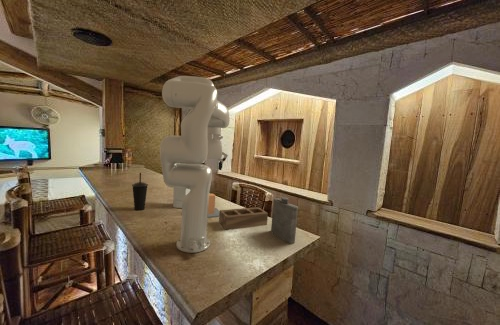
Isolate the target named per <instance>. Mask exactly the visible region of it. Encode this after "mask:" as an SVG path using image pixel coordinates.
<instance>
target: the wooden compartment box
mask: <svg viewBox="0 0 500 325" xmlns="http://www.w3.org/2000/svg"><path fill="white" fill-rule="evenodd" d="M219 211H220V213H219V217H218V222H219V224H220V225H221V226H222V227H223V228H224V230H226V231H229V230H230V231H231V230H237V229H245V228H252V227H253V228H254V227H260V226H267V225H268V220H269V219H268V218H269V217H268V216H269V213H268V212H267V211H265V210H264V209H263V208H261V207H259V206H256V207H253V206H252V207H244V208H242V207H241V208H234V209H233V208H231V209H219Z"/></svg>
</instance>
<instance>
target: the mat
mask: <svg viewBox="0 0 500 325" xmlns="http://www.w3.org/2000/svg"><path fill="white" fill-rule="evenodd" d="M219 213H220V209H218V208H217V207H215V209H214V213H213V214H208V217H207V219H209V218H210V219H211V218H219Z"/></svg>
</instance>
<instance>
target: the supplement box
mask: <svg viewBox="0 0 500 325" xmlns="http://www.w3.org/2000/svg"><path fill="white" fill-rule="evenodd" d="M189 192H190V189H186V188H173V201H172V202H173V204H172V205H173V207H172V208H174V209H175V208H176V209H177V208H178V209H182V203H183V199H184V197H185V196H186V195H187V194H188V193H189Z"/></svg>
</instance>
